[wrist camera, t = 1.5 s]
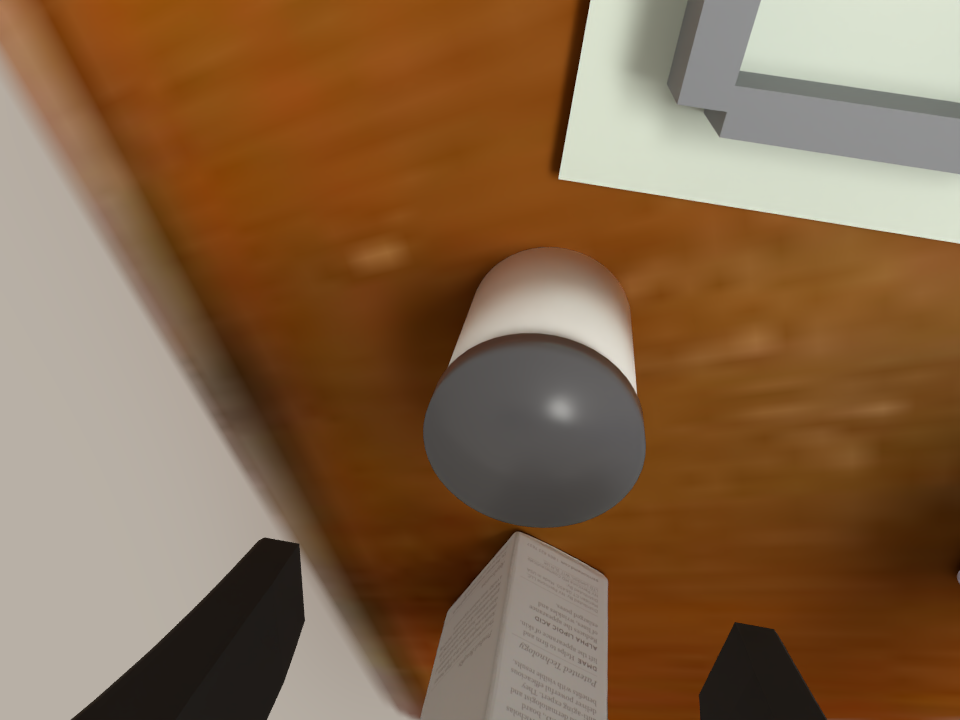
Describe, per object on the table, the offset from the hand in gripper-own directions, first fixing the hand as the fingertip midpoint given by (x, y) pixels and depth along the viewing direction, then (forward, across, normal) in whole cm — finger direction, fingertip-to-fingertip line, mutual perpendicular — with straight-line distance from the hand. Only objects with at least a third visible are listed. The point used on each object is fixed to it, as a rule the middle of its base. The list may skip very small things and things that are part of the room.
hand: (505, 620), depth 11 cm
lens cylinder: (+11, 0, 0) cm, 11 cm away
